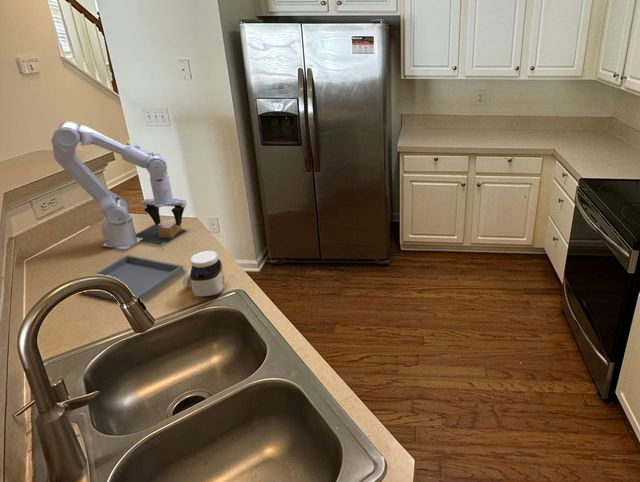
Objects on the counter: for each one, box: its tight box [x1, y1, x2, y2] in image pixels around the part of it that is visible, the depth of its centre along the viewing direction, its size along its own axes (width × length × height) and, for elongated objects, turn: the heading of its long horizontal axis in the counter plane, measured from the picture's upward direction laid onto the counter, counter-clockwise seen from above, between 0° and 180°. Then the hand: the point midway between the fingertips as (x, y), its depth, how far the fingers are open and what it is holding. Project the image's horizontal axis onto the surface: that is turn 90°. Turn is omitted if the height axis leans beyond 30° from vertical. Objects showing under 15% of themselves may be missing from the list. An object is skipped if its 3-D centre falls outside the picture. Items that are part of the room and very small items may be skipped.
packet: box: [158, 218, 182, 238], centre depth 156 cm, size 4×7×4 cm, turn 179°
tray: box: [82, 254, 185, 302], centre depth 128 cm, size 22×18×3 cm
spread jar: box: [182, 250, 225, 300], centre depth 124 cm, size 12×11×12 cm
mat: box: [136, 224, 186, 246], centre depth 156 cm, size 14×12×1 cm
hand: (168, 224), depth 155 cm, fingers open, 7 cm apart
